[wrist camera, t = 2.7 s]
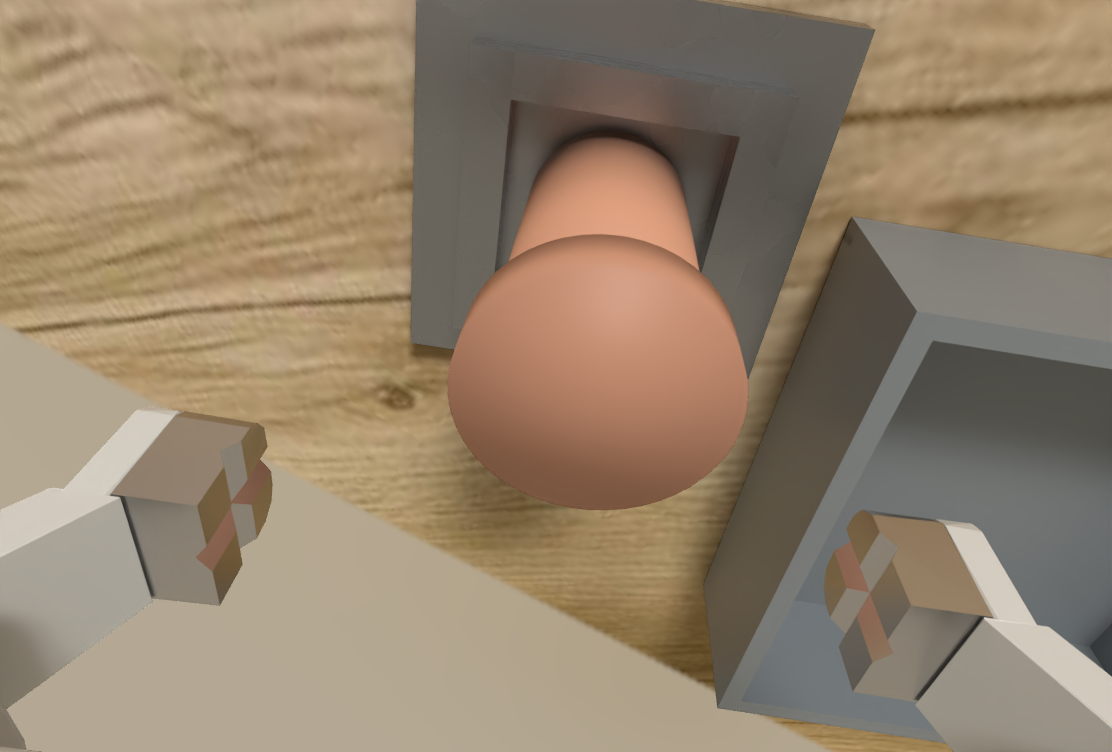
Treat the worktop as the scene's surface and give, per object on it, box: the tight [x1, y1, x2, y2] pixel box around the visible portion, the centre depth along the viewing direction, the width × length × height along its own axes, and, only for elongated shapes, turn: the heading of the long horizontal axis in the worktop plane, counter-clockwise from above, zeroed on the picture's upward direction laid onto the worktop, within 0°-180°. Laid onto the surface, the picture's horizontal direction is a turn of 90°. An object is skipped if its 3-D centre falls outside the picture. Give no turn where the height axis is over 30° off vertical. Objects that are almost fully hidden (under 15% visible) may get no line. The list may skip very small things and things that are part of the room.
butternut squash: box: [448, 131, 748, 510], centre depth 15 cm, size 5×5×8 cm
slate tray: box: [704, 217, 1112, 743], centre depth 21 cm, size 15×15×5 cm
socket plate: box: [411, 0, 875, 379], centre depth 18 cm, size 10×10×2 cm
